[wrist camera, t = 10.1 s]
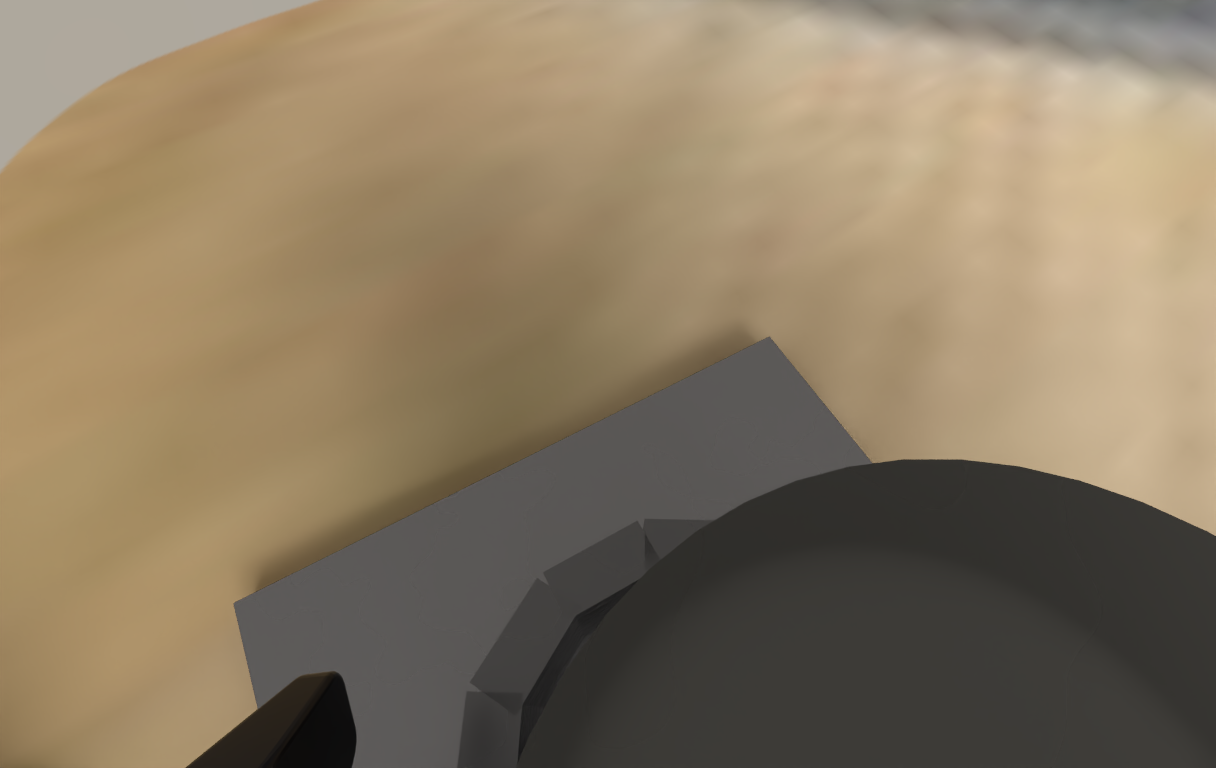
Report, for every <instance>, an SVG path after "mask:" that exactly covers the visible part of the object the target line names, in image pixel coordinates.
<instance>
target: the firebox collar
mask: <svg viewBox="0 0 1216 768" xmlns="http://www.w3.org/2000/svg"><path fill="white" fill-rule="evenodd" d="M866 464H873V463H872V462H871V461H870V460H869V459H868V457H867V456H866V455H865V454H864V452H863V451H862V450H861V449H860V447H859V446H858V445H857V444H856V443H855V441H854V440H853V439H852V438H851V436H850V435H849V434H848V433H847V431H846V430H845V429H844V428H843V427H842V425H841V424H840V423H839V422H838V420H837V419H836V418H835V417H834V415H833V414H832V413H831V412H830V411H829V409H828V408H827V407H826V406H825V404H824V403H823V402H822V401H821V399H820V398H819V397H818V396H817V395H816V393H815V392H814V391H813V390H812V388H811V387H810V386H809V385H808V383H807V382H806V381H805V380H804V379H803V377H802V376H801V375H800V374H799V372H798V371H797V370H796V369H795V367H794V366H793V365H792V364H791V362H790V361H789V360H788V359H787V358H786V356H785V355H784V354H783V353H782V351H781V350H780V349H779V348H778V346H777V345H776V344H775V343H774V342H773V340H772V339H771V338H770V337H768V338H766V339H763V340H761V341H759V342H757V343H755V344H753V345H751V346H749V347H747V348H745V349H743V350H741V351H739V352H737V353H735V354H733V355H731V356H729V357H727V358H725V359H723V360H721V361H719V362H717V363H715V364H713V365H711V366H709V367H707V368H705V369H703V370H701V371H699V372H697V373H695V374H693V375H691V376H689V377H687V378H685V379H683V380H681V381H679V382H677V383H675V384H673V385H671V386H669V387H667V388H665V389H663V390H661V391H659V392H657V393H655V394H653V395H651V396H649V397H647V398H645V399H643V400H641V401H639V402H637V403H635V404H633V405H631V406H629V407H627V408H625V409H623V410H621V411H619V412H617V413H615V414H613V415H611V416H609V417H607V418H605V419H603V420H601V421H599V422H597V423H595V424H593V425H591V426H589V427H587V428H585V429H583V430H581V431H579V432H577V433H575V434H573V435H571V436H568V437H566V438H564V439H562V440H560V441H558V442H556V443H554V444H552V445H550V446H548V447H546V448H544V449H542V450H540V451H538V452H536V453H534V454H532V455H530V456H528V457H526V458H524V459H522V460H520V461H518V462H516V463H514V464H512V465H510V466H508V467H506V468H504V469H502V470H500V471H498V472H496V473H494V474H492V475H490V476H488V477H486V478H484V479H482V480H480V481H478V482H476V483H474V484H472V485H470V486H468V487H466V488H464V489H462V490H460V491H458V492H456V493H454V494H452V495H450V496H448V497H446V498H444V499H442V500H440V501H438V502H436V503H434V504H432V505H430V506H428V507H426V508H424V509H422V510H420V511H418V512H416V513H414V514H412V515H410V516H408V517H406V518H404V519H402V520H400V521H398V522H396V523H394V524H392V525H390V526H388V527H386V528H384V529H382V530H380V531H378V532H376V533H374V534H371V535H369V536H367V537H365V538H363V539H361V540H359V541H357V542H355V543H353V544H351V545H349V546H347V547H345V548H343V549H341V550H339V551H337V552H335V553H333V554H331V555H329V556H327V557H325V558H323V559H321V560H319V561H317V562H315V563H313V564H311V565H309V566H307V567H305V568H303V569H301V570H299V571H297V572H295V573H293V574H291V575H289V576H287V577H285V578H283V579H281V580H279V581H277V582H275V583H273V584H271V585H269V586H267V587H265V588H263V589H261V590H259V591H257V592H255V593H253V594H251V595H249V596H247V597H245V598H243V599H241V600H239V601H237V602H235V603H234V608H235V612H236V616H237V621H238V625H239V629H240V634H241V638H242V642H243V647H244V651H245V655H246V660H247V664H248V668H249V672H250V677H251V681H252V685H253V690H254V694H255V698H256V703H257V707H258V709H259V708H260V707H261V706H262V705H264V704H265V703H266V702H267V701H269V700H270V699H271V698H272V697H274V696H275V695H276V694H277V693H278V692H280V691H281V690H282V689H283V688H285V687H286V686H287V685H288V684H290V683H291V682H292V681H293V680H295V679H296V678H298V677H299V676H301V675H305V674H312V673H320V672H329V671H335V672H338V673H339V674H340V675H341V676H342V678H343V680H344V683H345V686H346V690H347V694H348V698H349V702H350V706H351V710H352V714H353V718H354V723H355V727H356V735H357V743H356V751H355V757H354V761H353V765H352V768H516V766H517V764H518V761H519V759H520V756H521V754H522V752H523V749H524V747H525V744H526V742H527V739H528V737H529V735H530V734H531V732H532V730H533V728H534V726H535V725H536V723H537V721H538V719H539V717H540V716H541V714H542V712H543V710H544V708H545V706H546V705H547V703H548V701H549V699H550V697H551V696H552V694H553V692H554V690H555V688H556V687H557V685H558V683H559V681H560V679H561V678H562V676H563V674H564V672H565V671H566V669H567V668H568V666H569V665H570V664H571V662H572V661H573V660H574V658H575V657H576V655H577V654H578V653H579V651H580V650H581V648H582V647H583V646H584V644H585V643H586V642H587V640H588V639H589V637H590V636H591V635H592V633H593V632H594V631H595V629H596V628H597V626H598V625H599V624H600V622H601V621H602V620H603V618H604V617H605V615H606V614H607V613H608V612H609V611H610V610H611V609H612V608H613V607H614V606H615V605H616V604H617V603H618V602H619V601H620V600H621V598H622V597H623V596H624V595H625V594H626V593H627V592H628V591H629V590H630V589H631V588H632V587H633V586H634V585H635V584H636V583H637V582H638V580H639V579H640V578H641V577H642V576H643V575H644V574H645V573H646V572H647V571H648V570H649V569H650V568H651V567H652V566H654V565H655V564H656V563H657V562H659V561H660V560H661V559H662V558H664V557H665V556H666V555H667V554H669V553H670V552H671V551H672V550H674V549H675V548H676V547H677V546H678V545H680V544H681V543H682V542H683V541H685V540H686V539H687V538H688V537H690V536H691V535H692V534H693V533H695V532H696V531H698V530H699V529H701V528H703V527H704V526H706V525H708V524H709V523H711V522H713V521H714V520H716V519H718V518H719V517H721V516H723V515H724V514H726V513H728V512H729V511H731V510H733V509H734V508H736V507H738V506H739V505H741V504H743V503H744V502H747V501H749V500H751V499H754V498H756V497H758V496H761V495H763V494H766V493H768V492H770V491H773V490H775V489H777V488H780V487H782V486H784V485H787V484H789V483H792V482H794V481H797V480H801V479H804V478H808V477H812V476H816V475H819V474H823V473H827V472H830V471H834V470H838V469H842V468H845V467H850V466H858V465H866Z"/></svg>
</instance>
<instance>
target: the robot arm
mask: <svg viewBox="0 0 1216 768" xmlns="http://www.w3.org/2000/svg"><path fill="white" fill-rule="evenodd" d="M356 743H357V735H356V727H355V723H354V718H353V714H352V710H351V706H350V702H349V698H348V694H347V690H346V686H345V683H344V680H343V678H342V676H341V675H340V674H339V673H338V672H335V671H329V672H320V673H312V674H305V675H301V676H299V677H298V678H296V679H295V680H293V681H292V682H291V683H290V684H288V685H287V686H286V687H285V688H283V689H282V690H281V691H280V692H278V693H277V694H276V695H275V696H274V697H272V698H271V699H270V700H269V701H267V702H266V703H265V704H264V705H262V706H261V707H260V708H259V709H257V710H256V711H255V712H254V713H252V714H251V715H250V716H249V717H248V718H246V719H245V720H244V721H243V722H241V723H240V724H239V725H238V726H236V727H235V728H234V729H233V730H231V731H230V732H229V733H228V734H227V735H225V736H224V737H223V738H222V739H220V740H219V741H218V742H217V743H215V744H214V745H213V746H212V747H210V748H209V749H208V750H207V751H205V752H204V753H203V754H202V755H201V756H199V757H198V758H197V759H196V760H194V761H193V762H192V763H191V764H189V765H188V766H187V767H186V768H352V765H353V761H354V757H355V751H356Z"/></svg>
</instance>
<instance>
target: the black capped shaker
mask: <svg viewBox="0 0 1216 768" xmlns="http://www.w3.org/2000/svg"><path fill="white" fill-rule="evenodd" d="M516 768H1216V536H1214V535H1212V534H1211V533H1209V532H1207V531H1205V530H1203V529H1200V528H1198V527H1196V526H1194V525H1191V524H1189V523H1187V522H1185V521H1183V520H1180V519H1178V518H1176V517H1174V516H1172V515H1169V514H1167V513H1165V512H1163V511H1161V510H1158V509H1156V508H1154V507H1152V506H1150V505H1147V504H1145V503H1143V502H1140V501H1137V500H1134V499H1131V498H1129V497H1126V496H1123V495H1120V494H1117V493H1114V492H1111V491H1108V490H1105V489H1102V488H1099V487H1097V486H1094V485H1091V484H1088V483H1085V482H1082V481H1079V480H1074V479H1070V478H1066V477H1062V476H1057V475H1053V474H1049V473H1044V472H1040V471H1036V470H1032V469H1027V468H1023V467H1018V466H1010V465H1001V464H993V463H985V462H976V461H968V460H897V461H889V462H881V463H873V464H866V465H858V466H850V467H845V468H842V469H838V470H834V471H830V472H827V473H823V474H819V475H816V476H812V477H808V478H804V479H801V480H797V481H794V482H792V483H789V484H787V485H784V486H782V487H780V488H777V489H775V490H773V491H770V492H768V493H766V494H763V495H761V496H758V497H756V498H754V499H751V500H749V501H747V502H744V503H743V504H741V505H739V506H738V507H736V508H734V509H733V510H731V511H729V512H728V513H726V514H724V515H723V516H721V517H719V518H718V519H716V520H714V521H713V522H711V523H709V524H708V525H706V526H704V527H703V528H701V529H699V530H698V531H696V532H695V533H693V534H692V535H691V536H690V537H688V538H687V539H686V540H685V541H683V542H682V543H681V544H680V545H678V546H677V547H676V548H675V549H674V550H672V551H671V552H670V553H669V554H667V555H666V556H665V557H664V558H662V559H661V560H660V561H659V562H657V563H656V564H655V565H654V566H652V567H651V568H650V569H649V570H648V571H647V572H646V573H645V574H644V575H643V576H642V577H641V578H640V579H639V580H638V582H637V583H636V584H635V585H634V586H633V587H632V588H631V589H630V590H629V591H628V592H627V593H626V594H625V595H624V596H623V597H622V598H621V600H620V601H619V602H618V603H617V604H616V605H615V606H614V607H613V608H612V609H611V610H610V611H609V612H608V613H607V614H606V615H605V617H604V618H603V620H602V621H601V622H600V624H599V625H598V626H597V628H596V629H595V631H594V632H593V633H592V635H591V636H590V637H589V639H588V640H587V642H586V643H585V644H584V646H583V647H582V648H581V650H580V651H579V653H578V654H577V655H576V657H575V658H574V660H573V661H572V662H571V664H570V665H569V666H568V668H567V669H566V671H565V672H564V674H563V676H562V678H561V679H560V681H559V683H558V685H557V687H556V688H555V690H554V692H553V694H552V696H551V697H550V699H549V701H548V703H547V705H546V706H545V708H544V710H543V712H542V714H541V716H540V717H539V719H538V721H537V723H536V725H535V726H534V728H533V730H532V732H531V734H530V735H529V737H528V739H527V742H526V744H525V747H524V749H523V752H522V754H521V756H520V759H519V761H518V764H517V766H516Z"/></svg>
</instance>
